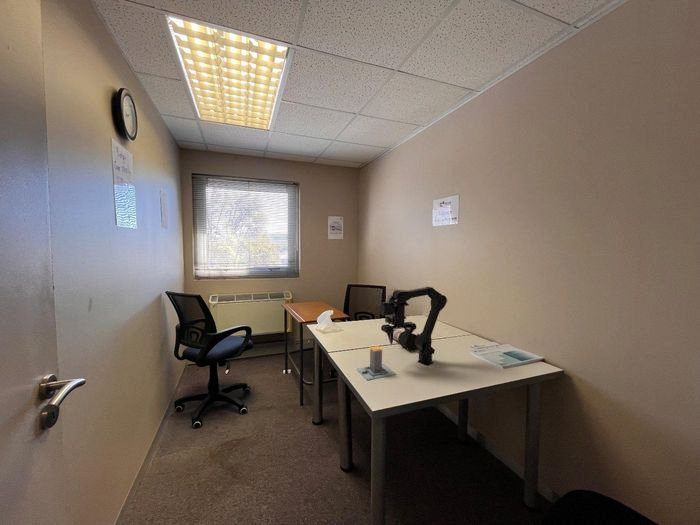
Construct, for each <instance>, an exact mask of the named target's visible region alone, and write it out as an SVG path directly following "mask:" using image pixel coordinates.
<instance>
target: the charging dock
mask: <svg viewBox="0 0 700 525" xmlns="http://www.w3.org/2000/svg"><path fill="white" fill-rule="evenodd" d="M356 371H357V372H358V373H359V374H360V375H361V376H362V377H363V378H364V379H365V380H366V381H370V380H375V379H380V378H381V379H382V378H385V377H390V376H395V375H397V373H396V372H395V371H393V369H391V368H390V367H388V366H387V365H386V364H385V363H382V372H380V373H375V374H374V373H373V372H372V371H371V370H370V365H369V366H366V367H365V366H364V367H359V368H356Z"/></svg>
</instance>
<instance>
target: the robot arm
mask: <svg viewBox="0 0 700 525" xmlns="http://www.w3.org/2000/svg"><path fill="white" fill-rule="evenodd" d="M425 296H428V298H429V299H430V310H429V312H428V315H427V319H426V321H425V324H424V327H423V329H422V332H421V333H420V334H419V333H417V334H416V335H417V337H416V339H415V344H416V346H417V347H418V349H417V350H419V352H418V360H417V362H418V363H420V364H423V365H424V366H430V365H431V364H434V361H433V355H434V354H435V351H436V349H434V348H433V347H432V342H433V340H432V334H433V331H434V330H435V326H436V323H437V320H438V318H439V315H440V312H441V311H442V310H443V309H444V308H445V307H446V305H447V302H448V298H447V297H446V295H444V294H442V293H440V292H439V291H437V290H436V289H435V288H434V287H432V286H425V287H420V288H419V287H418V288H414V289H409V290H408V289H396V290H393V293H392V295H391V296H390V297H389V299H388V302H387V301H381V305H380V306H379V314H380V315H381V316H385V317H384V321H385V323H386V324H382V325H381V327H380V328H381V329H380V330H381V332H384V333H385V334H386V335H387V337H388V341H389V343H390V345H393V344H394V343H393V341H394V339H393V334H394V333H393V330H394V329H395V330H399V329H402V330H404V331H405V342H407V341H408V339H409V337H410V335H411V334H412V333H413V332H415V330H417V324H416V323H414V322H412V321H405V319H406V320H407V316H406V314H405V313H406V307H407V306H408V307H409V305H410V304H409V303H408V301H410V300H411V299H413V298H414V299H415V298H419V297H425ZM390 316H391V317H390Z"/></svg>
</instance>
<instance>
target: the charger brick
mask: <svg viewBox="0 0 700 525" xmlns="http://www.w3.org/2000/svg"><path fill="white" fill-rule="evenodd" d="M369 348H370V349H369V351H370V352H369V356H370V357H369V366H370V370H371V371H372V372H373V373H374V374H375V373H380V372H382V364H383V349H382V348H381V347H380V346H379V345H376V346H370V347H369Z"/></svg>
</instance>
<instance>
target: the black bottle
mask: <svg viewBox="0 0 700 525" xmlns="http://www.w3.org/2000/svg"><path fill="white" fill-rule="evenodd" d="M393 333H394V334H393V340H395V341H396V342H398V343H399V346H401V347H403V348H405V349H406V350H408V351H410V352H416V351H417V350H419V349H418V347H417V346H416V344H415V339H416V337H417V334H415V333H413V332H412V334H411V335H410V337H409V339H408V341H407V342H405V330H404V331H401V330H399V329H394V330H393Z"/></svg>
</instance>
